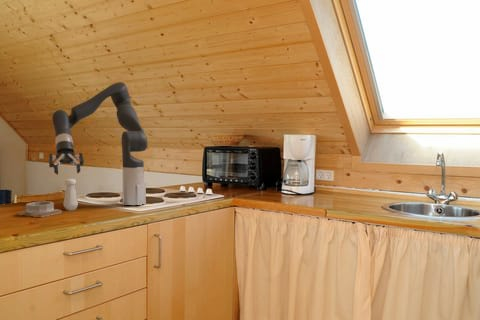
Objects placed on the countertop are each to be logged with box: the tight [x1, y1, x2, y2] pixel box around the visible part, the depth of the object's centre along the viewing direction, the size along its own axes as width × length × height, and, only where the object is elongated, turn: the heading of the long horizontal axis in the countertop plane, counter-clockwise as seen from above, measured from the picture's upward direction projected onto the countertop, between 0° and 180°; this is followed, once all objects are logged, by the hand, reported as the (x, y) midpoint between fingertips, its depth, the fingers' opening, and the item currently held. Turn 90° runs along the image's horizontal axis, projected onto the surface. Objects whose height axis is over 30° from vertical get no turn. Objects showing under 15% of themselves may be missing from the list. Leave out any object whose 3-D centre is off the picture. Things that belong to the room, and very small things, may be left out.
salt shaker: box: [62, 178, 79, 211], centre depth 169 cm, size 6×6×13 cm
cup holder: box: [17, 200, 62, 218], centre depth 159 cm, size 12×10×4 cm
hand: (67, 172), depth 177 cm, fingers open, 8 cm apart
